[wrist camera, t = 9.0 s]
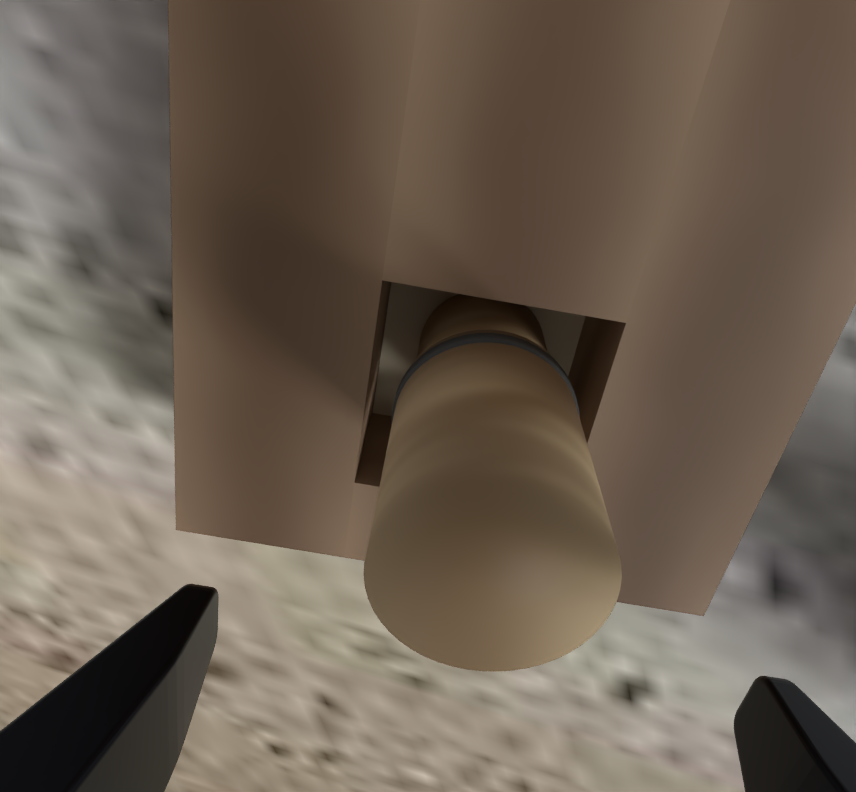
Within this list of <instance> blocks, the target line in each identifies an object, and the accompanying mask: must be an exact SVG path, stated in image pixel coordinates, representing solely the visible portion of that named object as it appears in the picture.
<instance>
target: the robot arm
mask: <svg viewBox="0 0 856 792" xmlns="http://www.w3.org/2000/svg"><path fill="white" fill-rule="evenodd" d="M217 631H218V592H217V590H216V589H215V588H213V587H208V586H201V585H195V584H187V585H185V586H183V587H182V588H180V589H179V590H178V591H177V592H175V593H174V594H173V595H172V596H170V597H169V598H168V599H167V600H165V601H164V602H163V603H162V604H160V605H159V606H158V607H156V608H155V609H154V610H153V611H151V612H150V613H149V614H148V615H146V616H145V617H144V618H143V619H141V620H140V621H139V622H138V623H136V624H135V625H134V626H132V627H131V628H130V629H129V630H127V631H126V632H125V633H124V634H122V635H121V636H120V637H119V638H117V639H116V640H115V641H114V642H112V643H111V644H110V645H108V646H107V647H106V648H105V649H103V650H102V651H101V652H100V653H98V654H97V655H96V656H95V657H93V658H92V659H91V660H89V661H88V662H87V663H86V664H84V665H83V666H82V667H81V668H79V669H78V670H77V671H76V672H74V673H73V674H72V675H71V676H69V677H68V678H67V679H65V680H64V681H63V682H62V683H60V684H59V685H58V686H57V687H55V688H54V689H53V690H52V691H50V692H49V693H48V694H47V695H45V696H44V697H43V698H41V699H40V700H39V701H38V702H36V703H35V704H34V705H33V706H31V707H30V708H29V709H28V710H26V711H25V712H24V713H23V714H21V715H20V716H19V717H17V718H16V719H15V720H14V721H12V722H11V723H10V724H9V725H7V726H6V727H5V728H4V729H2V730H1V731H0V792H164V791H165V789H166V786H167V784H168V782H169V780H170V777H171V775H172V772H173V770H174V768H175V765H176V763H177V760H178V758H179V755H180V752H181V749H182V746H183V743H184V740H185V737H186V734H187V731H188V728H189V725H190V722H191V719H192V716H193V713H194V709H195V706H196V703H197V700H198V697H199V694H200V691H201V688H202V685H203V682H204V678H205V675H206V672H207V669H208V666H209V663H210V660H211V657H212V654H213V650H214V647H215V643H216V638H217ZM734 733H735V738H736V744H737V749H738V755H739V760H740V766H741V771H742V776H743V782H744V787H745V792H856V743H855V742H854V741H853V740H852V739H851V738H850V737H849V736H848V735H847V734H846V733H845V732H844V731H843V730H842V729H841V728H840V727H839V726H838V725H837V724H836V723H835V722H833V721H832V720H831V719H830V718H829V717H828V716H827V715H826V714H825V713H824V712H823V711H822V710H821V709H820V708H819V707H818V706H817V705H816V704H815V703H814V702H813V701H812V700H811V699H810V698H809V697H808V696H807V695H806V694H805V693H803V692H802V691H801V690H800V689H799V688H798V687H797V686H796V685H795V684H794V683H792V682H791V681H789V680H786V679H780V678H774V677H768V676H760V677H758V678H757V679H755V681H754V682H753V684H752V686H751V687H750V689H749V691H748V692H747V694H746V696H745V698H744V699H743V701H742V703H741V705H740V706H739V708H738V710H737V712H736V715H735V719H734Z"/></svg>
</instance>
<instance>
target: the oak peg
mask: <svg viewBox="0 0 856 792" xmlns="http://www.w3.org/2000/svg"><path fill="white" fill-rule="evenodd" d="M391 425H392V426H391V431H390V436H389V441H388V446H387V451H386V456H385V461H384V466H383V471H382V476H381V481H380V486H379V491H378V496H377V501H376V507H375V512H374V517H373V522H372V527H371V532H370V537H369V542H368V547H367V552H366V557H365V562H364V582H365V589H366V592H367V596H368V599H369V602H370V604H371V606H372V608H373V610H374V612H375V614H376V615H377V617H378V618H379V620H380V621H381V623H382V624H383V625H384V626H385V627H386V628H387V630H388V631H389V632H390V633H391V634H392V635H394V636H395V637H396V638H397V639H398V640H399V641H400V642H402V643H403V644H405V645H406V646H408V647H409V648H410V649H412V650H414V651H416V652H417V653H419V654H421V655H423V656H425V657H427V658H430V659H432V660H434V661H437V662H440V663H443V664H446V665H449V666H453V667H458V668H463V669H468V670H477V671H511V670H518V669H524V668H530V667H533V666H537V665H541V664H544V663H547V662H550V661H552V660H555V659H558V658H560V657H562V656H564V655H566V654H568V653H570V652H571V651H573V650H574V649H576V648H578V647H579V646H581V645H582V644H583V643H585V642H586V641H587V640H588V639H590V638H591V637H592V636H593V635H594V634H595V633H596V632H597V631H598V630H599V629H600V628H601V627H602V626H603V624H604V623H605V621H606V620H607V619H608V617H609V616H610V614H611V612H612V610H613V608H614V606H615V604H616V602H617V599H618V595H619V592H620V587H621V580H622V570H621V561H620V556H619V552H618V548H617V545H616V541H615V538H614V535H613V531H612V528H611V524H610V521H609V517H608V514H607V510H606V507H605V504H604V500H603V497H602V493H601V490H600V486H599V483H598V480H597V476H596V473H595V469H594V466H593V462H592V459H591V455H590V452H589V449H588V445H587V442H586V438H585V435H584V431H583V428H582V425H581V421H580V414H579V407H578V403H577V399H576V395H575V392H574V389H573V387H572V384H571V382H570V380H569V378H568V376H567V375H566V373H565V371H564V370H563V369H562V367H561V366H560V365H559V364H558V362H557V361H556V360H555V359H554V357H552V356H551V355H550V354H549V353H548V352H547V348H546V344H545V340H544V336H543V332H542V329H541V326H540V324H539V322H538V320H537V318H536V316H535V315H534V314H533V313H532V311H531V310H530V309H529V308H528V307H527V306H526V305H520V304H515V303H509V302H503V301H497V300H492V299H486V298H480V297H474V296H469V295H463V294H457V295H455V296H453V297H451V298H449V299H447V300H446V301H444V302H443V303H442V304H440V305H439V306H438V307H437V308H436V309H435V310H434V311H433V312H432V314H431V315H430V316H429V318H428V319H427V321H426V323H425V325H424V328H423V330H422V333H421V337H420V343H419V349H418V355H417V358H416V359H415V361H414V362H413V363H412V365H411V366H410V367H409V369H408V370H407V372H406V373H405V375H404V377H403V378H402V380H401V382H400V384H399V387H398V389H397V392H396V396H395V400H394V405H393V409H392V419H391Z"/></svg>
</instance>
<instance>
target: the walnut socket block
mask: <svg viewBox="0 0 856 792" xmlns="http://www.w3.org/2000/svg"><path fill="white" fill-rule="evenodd" d="M168 32H169V99H170V166H171V233H172V300H173V367H174V434H175V501H176V530H180V531H186V532H192V533H198V534H204V535H210V536H216V537H222V538H229V539H235V540H241V541H247V542H253V543H259V544H265V545H271V546H278V547H284V548H290V549H296V550H302V551H308V552H314V553H320V554H327V555H333V556H339V557H345V558H351V559H357V560H363V561H365V557H366V552H367V547H368V542H369V537H370V532H371V527H372V522H373V517H374V512H375V507H376V501H377V496H378V491H379V486H380V481H381V476H382V471H383V466H384V461H385V456H386V451H387V446H388V441H389V436H390V431H391V426H392V425H391V419H392V409H393V405H394V400H395V396H396V392H397V389H398V387H399V384H400V382H401V380H402V378H403V377H404V375H405V373H406V372H407V370H408V369H409V367H410V366H411V365H412V363H413V362H414V361H415V359H416V358H417V355H418V349H419V343H420V337H421V333H422V330H423V328H424V325H425V323H426V321H427V319H428V318H429V316H430V315H431V314H432V312H433V311H434V310H435V309H436V308H437V307H438V306H439V305H440V304H442V303H443V302H444V301H446V300H447V299H449V298H451V297H453V296H455V295H457V294H463V295H469V296H474V297H480V298H486V299H492V300H497V301H503V302H509V303H515V304H520V305H526V306H527V307H528V308H529V309H530V310H531V311H532V313H533V314H534V315H535V316H536V318H537V320H538V322H539V324H540V326H541V329H542V332H543V336H544V340H545V344H546V348H547V352H548V353H549V354H550V355H551V356H552V357H554V359H555V360H556V361H557V362H558V364H559V365H560V366H561V367H562V369H563V370H564V371H565V373H566V375H567V376H568V378H569V380H570V382H571V384H572V387H573V389H574V392H575V395H576V399H577V403H578V407H579V414H580V421H581V425H582V428H583V431H584V435H585V438H586V442H587V445H588V449H589V452H590V455H591V459H592V462H593V466H594V469H595V473H596V476H597V480H598V483H599V486H600V490H601V493H602V497H603V500H604V504H605V507H606V510H607V514H608V517H609V521H610V524H611V528H612V531H613V535H614V538H615V541H616V545H617V548H618V552H619V556H620V561H621V570H622V580H621V587H620V592H619V595H618V599H617V602H621V603H627V604H633V605H639V606H645V607H651V608H657V609H664V610H670V611H676V612H682V613H688V614H694V615H700V616H704V614H705V612H706V610H707V608H708V606H709V604H710V602H711V600H712V598H713V596H714V594H715V592H716V589H717V587H718V585H719V583H720V581H721V579H722V577H723V575H724V573H725V571H726V569H727V567H728V565H729V563H730V561H731V559H732V557H733V555H734V552H735V550H736V548H737V546H738V544H739V542H740V540H741V538H742V536H743V534H744V532H745V530H746V528H747V526H748V524H749V522H750V520H751V518H752V515H753V513H754V511H755V509H756V507H757V505H758V503H759V501H760V499H761V497H762V495H763V493H764V491H765V489H766V487H767V485H768V483H769V481H770V478H771V476H772V474H773V472H774V470H775V468H776V466H777V464H778V462H779V460H780V458H781V456H782V454H783V452H784V450H785V448H786V446H787V444H788V442H789V439H790V437H791V435H792V433H793V431H794V429H795V427H796V425H797V423H798V421H799V419H800V417H801V415H802V413H803V411H804V409H805V407H806V405H807V402H808V400H809V398H810V396H811V394H812V392H813V390H814V388H815V386H816V384H817V382H818V380H819V378H820V376H821V374H822V372H823V370H824V368H825V365H826V363H827V361H828V359H829V357H830V355H831V353H832V351H833V349H834V347H835V345H836V343H837V341H838V339H839V337H840V335H841V333H842V331H843V328H844V326H845V324H846V322H847V320H848V318H849V316H850V314H851V312H852V310H853V308H854V306H855V304H856V0H168Z"/></svg>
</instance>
